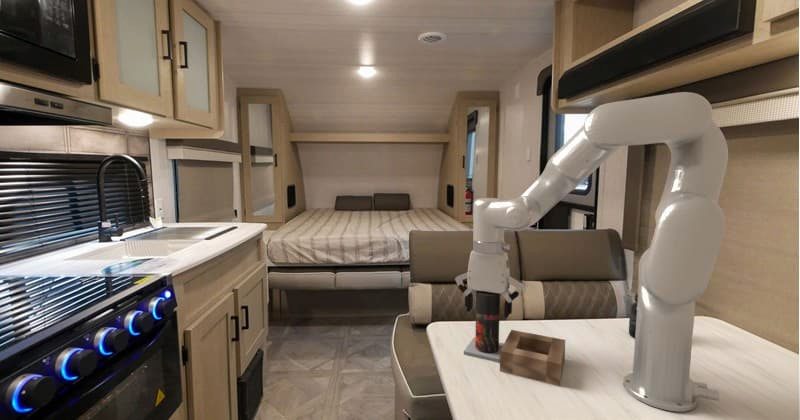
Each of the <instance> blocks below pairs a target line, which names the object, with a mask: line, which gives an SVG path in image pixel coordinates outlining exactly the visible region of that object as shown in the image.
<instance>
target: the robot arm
mask: <svg viewBox="0 0 800 420" xmlns="http://www.w3.org/2000/svg"><path fill="white" fill-rule="evenodd" d="M712 119H713V108H712V104H711V103H710V102H709V101H708V99H706V98H705V97H704V96H702V95H700V94H699V93H695V92H688V91H683V92H681V91H680V92H673V93H666V94H665V93H664V94H660V95H659V94H658V95H651V96H646V97H639V98H635V99H627V100H620V101H618V100H617V101H614V102H608V103H604V104H601V105H598V106H597V107H595V108H594V109H592V110H591V111H590V112H589V113H588V115H587V116H586V118H585V120H584V123H583V125H582V126H581V128H579V129H578V130H577V131H576V132H575V133H574V134H573V135H572V136H571V138H570V139H568V141H566V142H565V144H563V145H562V146H561V148H559V149H558V150H557V151H556V152H555V153H554V154H553V155H552V156H551V157H550V159H549V160H548V161H547V163H546V165H545V168H544V170H543V172H542V173H541V175H540V176H539V177H538V178H537V179H536V180H535V181H534V183H532V185H531V186H529V187H528V188H527V190H525V191H524V192H523V193H522V194H521V195H520V196H519V197H516V198H513V199H507V200H502V199H501V198H496V197H495V198H494V197H484V198H483V197H482V198H481V197H480V198H477V199H475V200H474V201H473V205H472V206H473V207H472V209H473V211H472V212H473V215H472V217H473V221H472V223H473V228H472V233H473V234H472V235H473V239H472V241H473V243H472V245H473V247H472V250H471V251H470V255H469V260H468V265H467V267H468V268H467V272H465V273H462V274H460V275H458V276H456V277H455V278H454V280H455V282H456V285H457V286H458V289H459V290H460V291H461V293H462V294H463V296H464V307H466V312H468V313H469V312H471V310H472V309H473V307H474V302H473V300H474V299H473V298H474V294H473V293H472V291H475V292H476V291H481V292H488V293H496V294H500V295H501V296H502V297H503V298H504V299H505V301H504V305H503V306H504V307H503V308H504V309H503V310H504V314H503V315H504V318H506V319H507V318H508V317H509V316H510V315H512V312H513V301H514V300H515V299H516V298H518V297H519V295H520V294H521V292H522V290H523V288H524V284H523V283H521V282H520V281H519V280H517V279H516V278H513V277H512V276H511V275H510V263H509V256H508V252H505V251H506V250H507V251H508V250H510V249H511V248H510V247H511V245H510V243H506V241H505V230H508V231H513V232H520V231H524V230H527V229H528V228H529V227H531V226H533V225H534V224H535V223H536V224H537V222H538V221H540V219H542V218H543V217H544V216H545V215H546V214H547V213H548V212H549V211H550V210H551V209H552V208H553V207H555V206H556V205H557V204H558V203H559V202H560V201H562V199H563V198H564V197H566V196H567V195H568V194H570V193H571V192H573V191H574V190H575V189H576V188H578V186H579V185H581V184H582V183H583V182H584V181H585V180H586V179H587V178H588V177H590V175H592V173H593V172H594V171H596V170H597V169H598V168H599V167H600V166H601V165H602V164H603V163H604V162H606V161H607V160H608V159H609V158H610V157H612V156H613V154H615V152H617V151H618V150H619V149H620V148H621V147H627V146H629V147H630V146H640V145H651V144H653V145H654V144H663V143H664V144H665V145H667V147H668V148H669V151H670V155H671V159H670V164H669V165H670V166H669V169H668V172H667V173H668V174H667V177H666V181H665V185H664V188H663V191H662V194H661V198H660V201H659V202H658V205H657V208H656V210H655V213H654V221H655V223H656V225H655V229H654V233H653V237H652V239H651V241H650V246H649V247H648V249H646V250H645V251H644V252H643V253H642V255H641V257H640V259H639V262H638V275H637V276H638V279H637V280H638V282H637V283H638V284H637V293H638V303H637V317H636V332H635V338H634V349H633V350H634V352H633V367H632V372H631V373H628V374H626V375H625V376H624V378H623V386H624V388H625V390H626V392H628V394H630V395H631V396H632V397H634V398H635V399H637V400H638V401H640V402H642V403H644V404H646V405H649V406H651V407H654V408H657V409H661V410H664V411H669V412H681V413H684V412H689V411H692V410H694V409H695V408H697V406H698V398H704V399H706V400H711V401H716V402H719V401H720V393H719V390H717V389H712V388H709V387H708V384H707V383H704V382H696V381H693V379H691V378H690V371H691V358H692V347H693V346H692V345H693V334H694V325H695V324H694V323H695V311H696V301H697V300H698V299H699V298H700V297H701V296H702V295H703V294H704V292H705V290H706V289H707V286H708V284H709V280H710V279H711V276H712V273H713V270H714V266H715V263H716V262H717V258H718V254H719V251H720V248H721V246H722V242H723V239H724V236H725V231H726V217H725V214H724V211H723V210H722V208H721V207H720V205H719V204H718V202H719V198H720V194H721V190H722V187H723V183H724V178H725V175H726V171H727V166H728V161H729V159H728V158H729V149H728V144H727V140H726V138H725V136H724V133H723V132H722V130H721V129H720V127H719V126H718V125H717V123H716V122H715V121H714V120H712ZM466 279H467V280H466ZM463 280H466V282H467V286H466V285H465V284H464V281H463ZM511 285H512V286H513V287H515V290H514V291H513V292H512V291H510V287H511Z"/></svg>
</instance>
